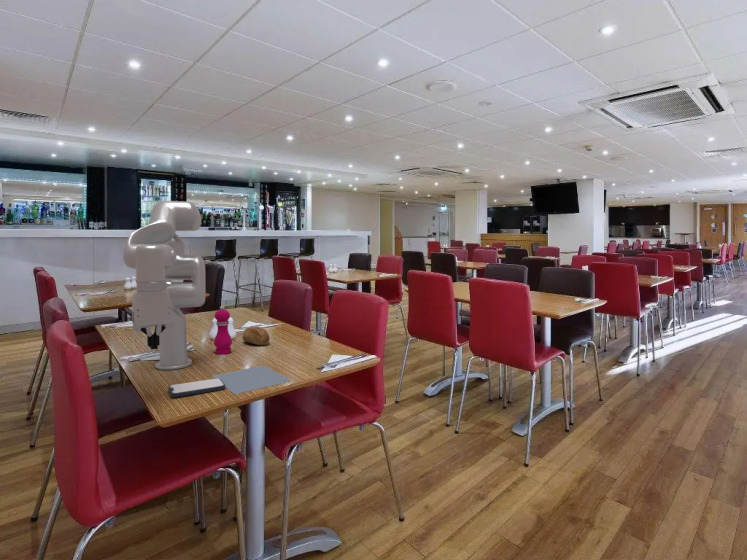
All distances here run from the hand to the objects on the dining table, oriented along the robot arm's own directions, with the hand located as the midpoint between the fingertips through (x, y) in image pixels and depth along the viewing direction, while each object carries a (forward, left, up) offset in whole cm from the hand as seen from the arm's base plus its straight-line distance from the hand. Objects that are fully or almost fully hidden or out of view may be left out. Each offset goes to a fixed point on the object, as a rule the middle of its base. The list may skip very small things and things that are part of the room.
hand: (153, 348), depth 126 cm
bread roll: (-44, +51, -16) cm, 70 cm away
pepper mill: (-38, +34, -16) cm, 54 cm away
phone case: (0, +12, -16) cm, 20 cm away
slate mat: (0, +30, -16) cm, 34 cm away
